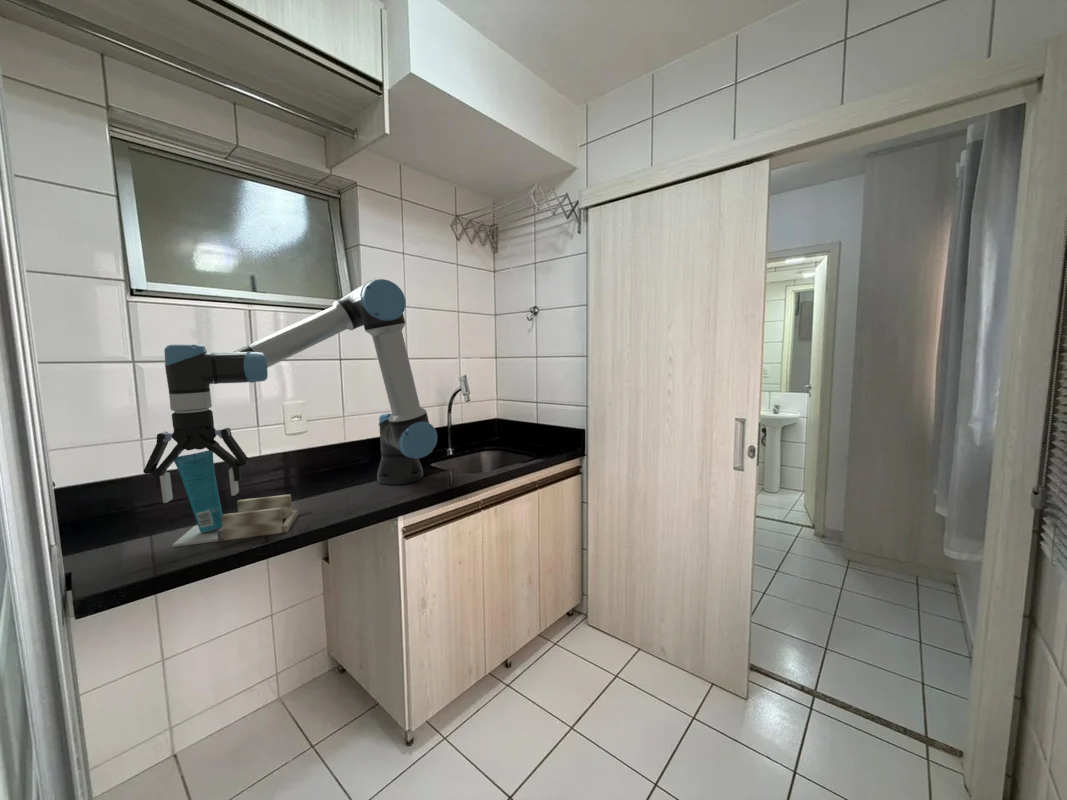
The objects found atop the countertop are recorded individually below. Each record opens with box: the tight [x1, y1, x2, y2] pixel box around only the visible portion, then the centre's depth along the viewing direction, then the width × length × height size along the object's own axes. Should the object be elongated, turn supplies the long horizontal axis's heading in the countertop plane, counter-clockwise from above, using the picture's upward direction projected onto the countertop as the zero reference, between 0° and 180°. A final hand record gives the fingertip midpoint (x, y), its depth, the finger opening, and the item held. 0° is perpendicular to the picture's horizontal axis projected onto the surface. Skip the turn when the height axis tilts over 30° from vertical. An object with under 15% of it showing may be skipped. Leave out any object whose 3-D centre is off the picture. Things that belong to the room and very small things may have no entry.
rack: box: [217, 493, 299, 542], centre depth 105 cm, size 14×11×6 cm
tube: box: [173, 449, 223, 533], centre depth 102 cm, size 7×5×19 cm, turn 137°
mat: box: [172, 524, 220, 548], centre depth 102 cm, size 9×11×1 cm
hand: (202, 497), depth 101 cm, fingers open, 13 cm apart
